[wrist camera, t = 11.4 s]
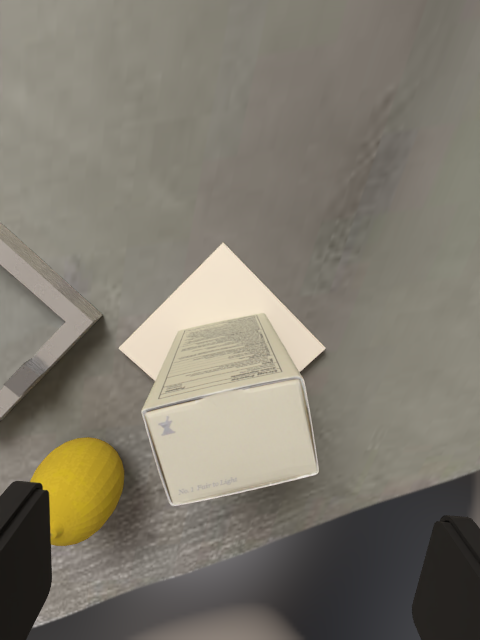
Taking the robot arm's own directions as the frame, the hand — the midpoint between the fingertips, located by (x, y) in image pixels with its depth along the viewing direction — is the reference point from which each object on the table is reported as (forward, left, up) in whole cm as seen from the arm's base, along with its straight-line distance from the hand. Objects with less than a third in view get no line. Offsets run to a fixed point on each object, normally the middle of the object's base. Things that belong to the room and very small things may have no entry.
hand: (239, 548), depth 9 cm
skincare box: (0, 0, -18) cm, 17 cm away
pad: (+1, 0, -18) cm, 18 cm away
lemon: (+13, -1, -18) cm, 23 cm away
